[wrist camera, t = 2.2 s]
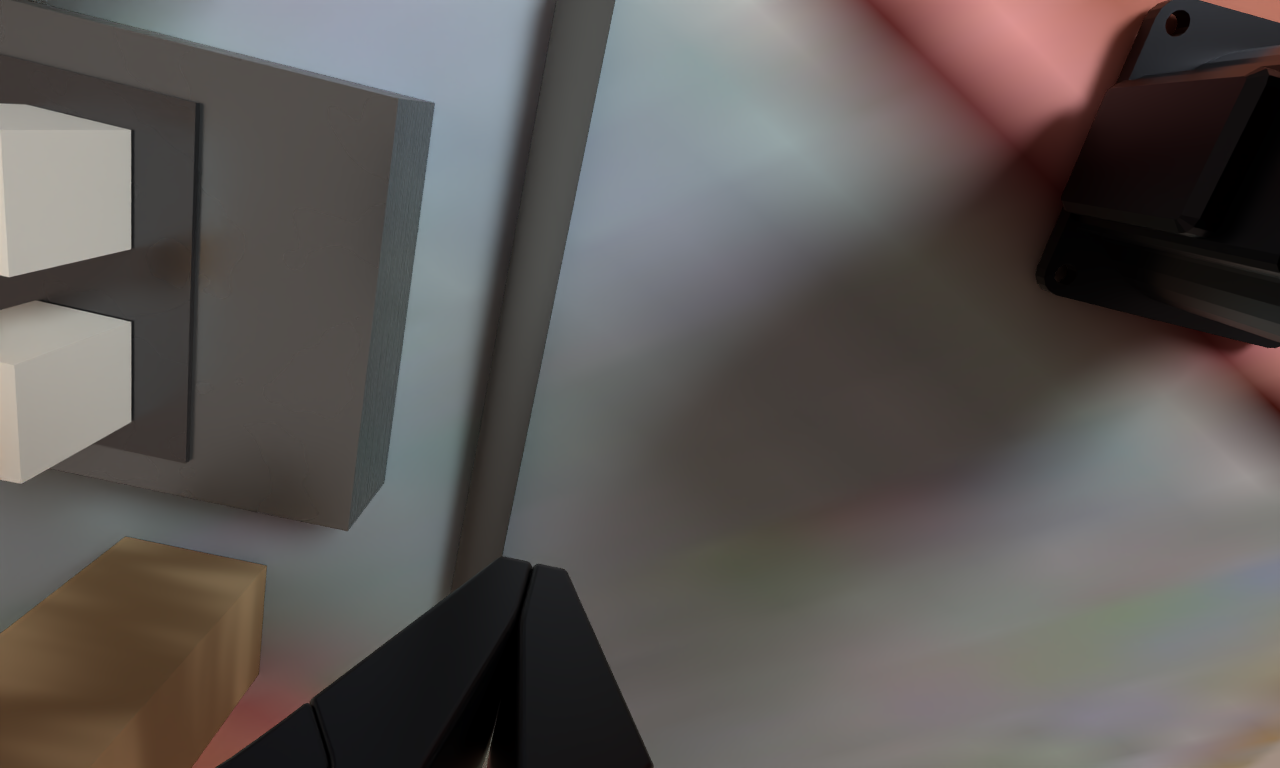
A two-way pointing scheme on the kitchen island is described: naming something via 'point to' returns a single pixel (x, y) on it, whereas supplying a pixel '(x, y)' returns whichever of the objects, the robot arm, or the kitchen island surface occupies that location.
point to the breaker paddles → (51, 334)
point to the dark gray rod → (533, 274)
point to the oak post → (131, 660)
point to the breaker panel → (238, 261)
